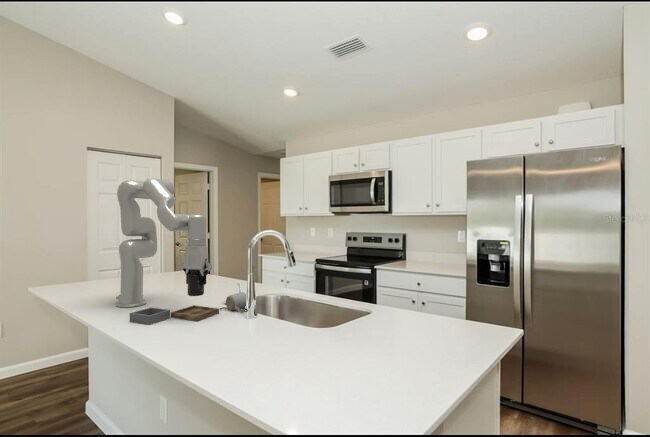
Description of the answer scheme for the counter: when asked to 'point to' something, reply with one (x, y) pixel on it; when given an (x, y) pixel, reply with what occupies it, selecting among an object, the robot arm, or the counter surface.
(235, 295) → the ceramic mug
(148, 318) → the gray open box
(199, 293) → the supplement bottle
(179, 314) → the walnut tray
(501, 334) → the counter surface
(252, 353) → the counter surface
